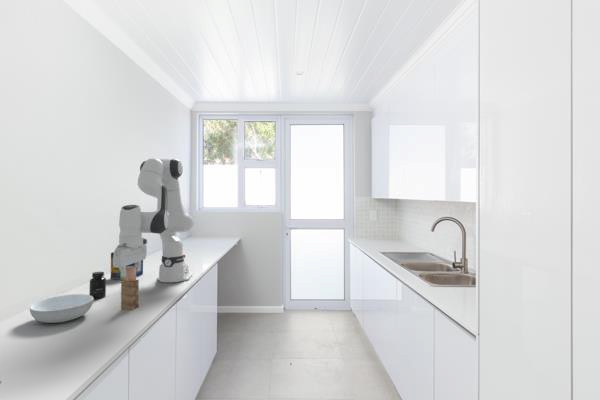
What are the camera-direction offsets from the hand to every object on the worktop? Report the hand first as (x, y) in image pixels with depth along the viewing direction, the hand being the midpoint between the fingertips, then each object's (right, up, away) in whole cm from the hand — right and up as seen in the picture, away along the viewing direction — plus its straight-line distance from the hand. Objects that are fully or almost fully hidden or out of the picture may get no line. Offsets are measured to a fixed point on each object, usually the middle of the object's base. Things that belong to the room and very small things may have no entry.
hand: (130, 273), depth 150 cm
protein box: (-30, -14, +57) cm, 66 cm away
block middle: (0, -11, 0) cm, 11 cm away
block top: (0, -7, 0) cm, 7 cm away
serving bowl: (-20, -15, -13) cm, 29 cm away
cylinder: (0, -3, 0) cm, 3 cm away
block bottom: (0, -15, 0) cm, 15 cm away
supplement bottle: (-23, -15, +15) cm, 31 cm away
